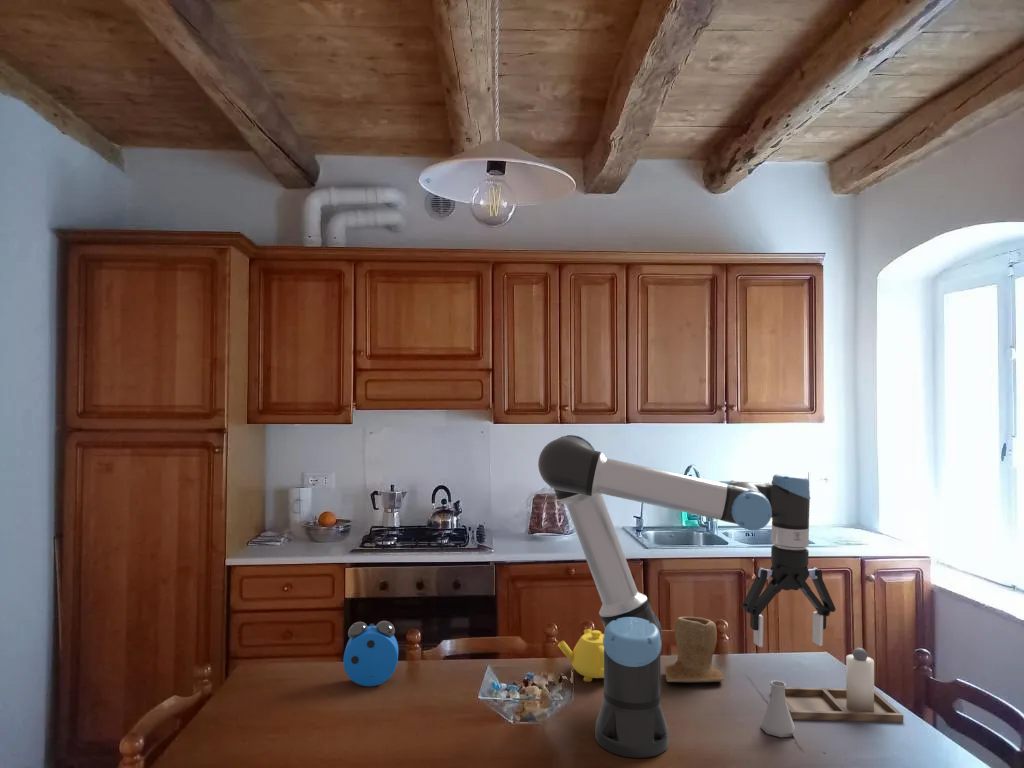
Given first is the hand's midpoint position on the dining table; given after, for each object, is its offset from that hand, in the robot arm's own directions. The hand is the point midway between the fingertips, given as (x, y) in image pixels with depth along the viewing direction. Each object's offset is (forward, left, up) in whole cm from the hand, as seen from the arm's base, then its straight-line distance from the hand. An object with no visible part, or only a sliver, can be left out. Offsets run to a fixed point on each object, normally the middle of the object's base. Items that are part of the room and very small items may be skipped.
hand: (787, 644), depth 147 cm
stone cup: (-16, +24, -18) cm, 34 cm away
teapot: (-41, +25, -18) cm, 51 cm away
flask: (-3, -2, -18) cm, 18 cm away
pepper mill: (+19, +8, -17) cm, 27 cm away
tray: (+13, +8, -18) cm, 24 cm away
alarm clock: (-96, +16, -18) cm, 99 cm away
